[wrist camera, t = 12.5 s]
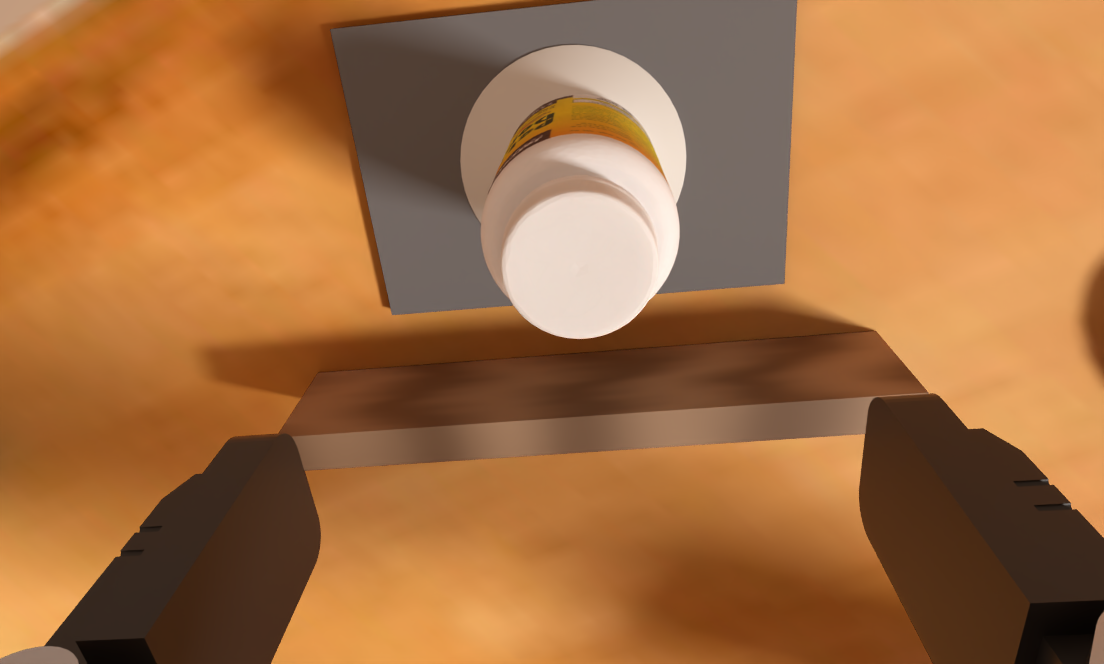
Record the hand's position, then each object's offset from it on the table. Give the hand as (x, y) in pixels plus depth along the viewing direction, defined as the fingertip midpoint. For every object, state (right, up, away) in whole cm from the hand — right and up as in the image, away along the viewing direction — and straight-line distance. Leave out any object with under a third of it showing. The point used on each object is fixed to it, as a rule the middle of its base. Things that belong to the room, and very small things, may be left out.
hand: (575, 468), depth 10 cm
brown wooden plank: (+1, 0, +21) cm, 21 cm away
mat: (0, +8, +17) cm, 19 cm away
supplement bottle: (+1, +8, +17) cm, 19 cm away
